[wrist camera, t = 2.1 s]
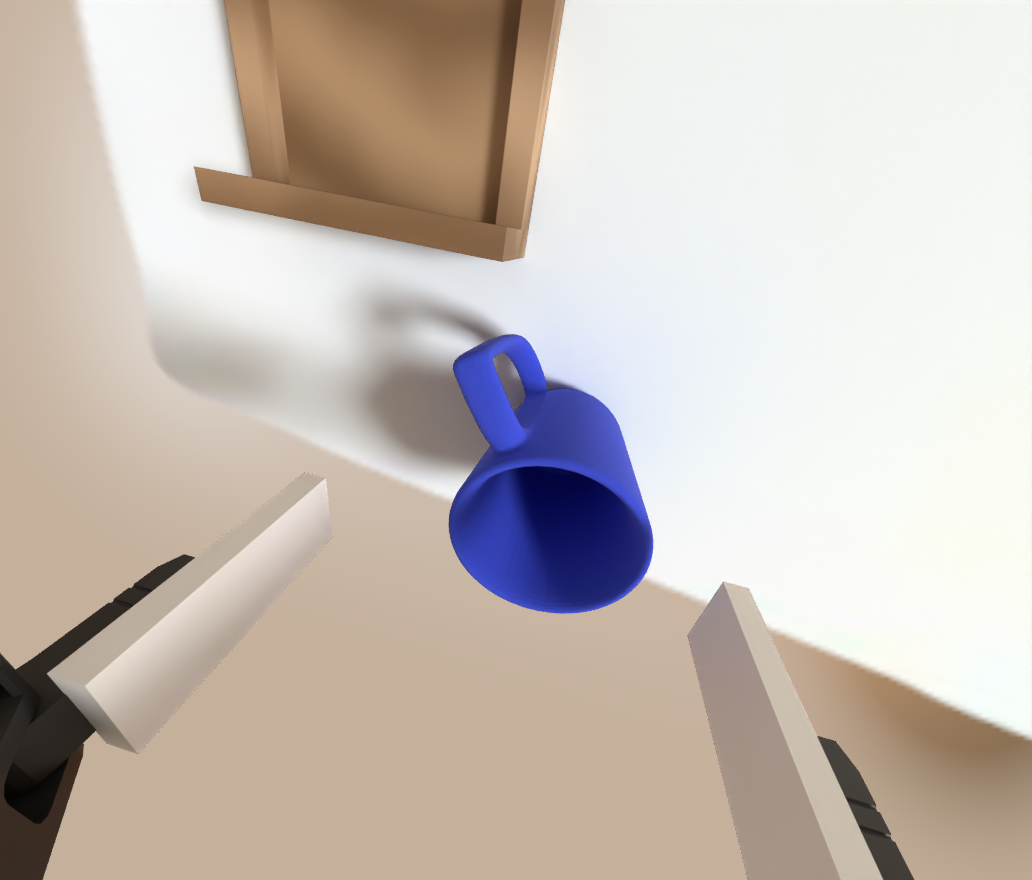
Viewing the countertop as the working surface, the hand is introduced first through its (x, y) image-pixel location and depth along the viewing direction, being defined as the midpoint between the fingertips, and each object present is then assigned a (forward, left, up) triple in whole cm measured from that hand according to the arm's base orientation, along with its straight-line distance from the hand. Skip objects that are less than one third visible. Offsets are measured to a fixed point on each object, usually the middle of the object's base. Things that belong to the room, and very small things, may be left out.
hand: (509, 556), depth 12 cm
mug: (0, 0, -12) cm, 12 cm away
